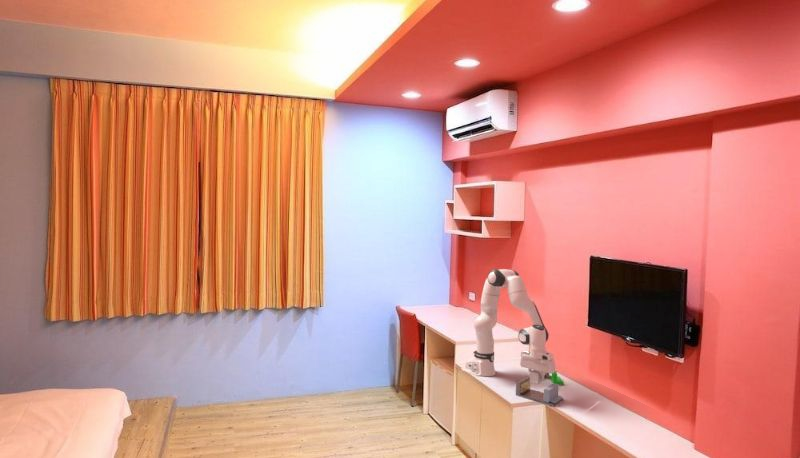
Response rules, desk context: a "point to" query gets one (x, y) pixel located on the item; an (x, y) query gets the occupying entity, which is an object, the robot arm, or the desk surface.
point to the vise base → (531, 392)
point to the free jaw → (551, 393)
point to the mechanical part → (556, 379)
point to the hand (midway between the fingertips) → (537, 377)
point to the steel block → (536, 376)
